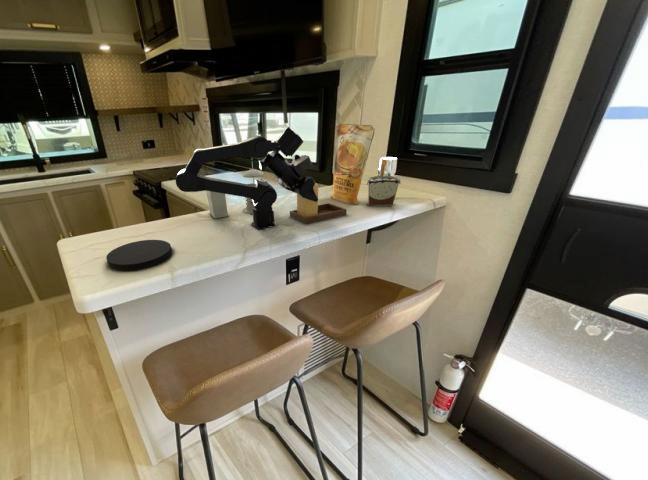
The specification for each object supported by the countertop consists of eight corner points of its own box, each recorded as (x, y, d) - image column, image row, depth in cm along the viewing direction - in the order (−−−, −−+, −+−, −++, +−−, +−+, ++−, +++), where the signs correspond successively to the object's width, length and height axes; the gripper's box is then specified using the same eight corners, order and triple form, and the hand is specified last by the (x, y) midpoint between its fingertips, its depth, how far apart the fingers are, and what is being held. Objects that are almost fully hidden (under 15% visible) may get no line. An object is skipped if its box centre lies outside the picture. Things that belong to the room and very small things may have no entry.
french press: (258, 205, 131) (253, 139, 118) (275, 210, 123) (272, 140, 110) (239, 210, 126) (231, 142, 113) (255, 216, 118) (249, 143, 105)
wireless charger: (160, 241, 101) (158, 235, 100) (181, 257, 89) (180, 251, 88) (102, 256, 92) (100, 250, 91) (117, 277, 80) (114, 270, 79)
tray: (305, 224, 107) (305, 218, 106) (289, 217, 115) (289, 211, 114) (346, 215, 113) (346, 209, 112) (328, 208, 121) (328, 202, 120)
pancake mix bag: (338, 194, 139) (342, 123, 124) (368, 203, 124) (377, 124, 110) (326, 196, 137) (329, 124, 122) (354, 206, 122) (362, 125, 107)
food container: (393, 200, 126) (397, 174, 120) (397, 205, 121) (401, 178, 115) (362, 201, 127) (365, 176, 122) (364, 205, 122) (367, 179, 117)
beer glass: (393, 195, 133) (399, 157, 125) (389, 199, 128) (395, 159, 120) (377, 193, 137) (382, 156, 129) (372, 197, 132) (377, 159, 124)
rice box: (305, 221, 109) (305, 186, 103) (297, 217, 114) (296, 183, 107) (317, 218, 111) (318, 183, 104) (308, 214, 115) (309, 181, 109)
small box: (228, 216, 120) (224, 188, 114) (214, 218, 118) (209, 190, 113) (223, 211, 126) (219, 184, 121) (209, 213, 125) (205, 186, 119)
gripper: (310, 149, 91) (340, 183, 100) (285, 144, 106) (314, 174, 115) (286, 181, 93) (318, 211, 102) (265, 171, 108) (295, 199, 117)
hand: (311, 197), depth 109 cm, fingers open, 9 cm apart
